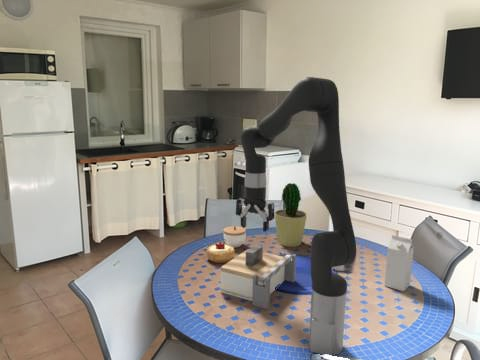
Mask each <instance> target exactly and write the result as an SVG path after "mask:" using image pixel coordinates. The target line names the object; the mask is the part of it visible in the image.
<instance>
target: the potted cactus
mask: <svg viewBox="0 0 480 360" xmlns="http://www.w3.org/2000/svg"><path fill="white" fill-rule="evenodd" d="M280 193H281V195H280V197H281V201H282V203H284V204H283V205H284V208H282V209H277V210H276V211H275V210H274V217H275V218H274V219H275V220H274V221H275V228H276V236H277V243H278V244H279V245H281V246H283V247H289V248H290V247H291V248H293V247H298V246H300V245H302V241H303V237H304V231H305V226H306V222H307V216H308V213H307V212H305V211H304V210H300V209H299V206H300V201H302V196H303V195H301V190H300V187H299V185H297V183H296V182H295V183H294V182H292V183H290V182H289V183H286V185H285V184H284V187H283V189H282V192H280Z"/></svg>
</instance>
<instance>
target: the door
mask: <svg viewBox="0 0 480 360" xmlns="http://www.w3.org/2000/svg"><path fill="white" fill-rule="evenodd" d="M263 249H264V247H263V246H262V245H259V244H255V245H254V246H252V247H251V248H249V249H248V248H247V249H246V250H244V251H243V252H241V253H240V254H238V255H236V256H234V257H233V259H232V260H231V261H229V262H227V263H224V264H223V265H222V266H221V267H220V272H221V271H223V272H227V273H231V274H235V275H238V276H242V277H246V278H250V279H253V275H254V274H258V284H259V285H264V284H265V280H266V278H267V277H270V279H271V278H272V277H273V276H274V275H275V274H276V273H277V272H278V271H280V270H281V269H282V268H283V267H284V266H285V265H286V264H287V263H288V262H289V261H292V255H293V254H285V257H282V256H281V255H278V254H277V255H276V254H272V253H268V252H263V251H264V250H263Z"/></svg>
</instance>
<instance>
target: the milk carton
mask: <svg viewBox="0 0 480 360" xmlns="http://www.w3.org/2000/svg"><path fill="white" fill-rule="evenodd" d="M389 241H390V242H389V244H388V246H387V252H386V253H387V255H386V265H385V274H384V275H385V276H384V287H388V288H391V289H395V290H398V291H400V292H405V291H406V289H407V288H409V286H410V285H411V279H412V278H411V276H412V269H413V268H412V267H413V260H414V259H413V258H414V257H413V256H414V250H415V247H414V245H413V239H412V238H408V237H403V236H398V235H393V234H391V239H390V240H389Z"/></svg>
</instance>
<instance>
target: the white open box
mask: <svg viewBox="0 0 480 360" xmlns="http://www.w3.org/2000/svg"><path fill="white" fill-rule="evenodd" d="M291 255H292V260H291V261H289V262H288V263H287V264H286V265H285V266H284V267H283V268H282V269H281V270H280V271H278V272H277V273H276V274H275V275H274V276H273V277H272V278H271V279H270V277H267V278H266V280H265V284H264V285H259V284H258V274H254V275H253V279H250V278H246V277H242V276H238V275H235V274H231V273H227V272H223V271H221V270H220V293H222V294H225V295H226V294H227V295H228V296H232V297H237V298H241V299H244V300H246V301H251V303H252V304H251V306H255V307H258V308H261V309H266V310H268V309H270V307H271V305H270V303H271V301H270V300H271V299H270V298H271V295H272V293H273V292H275V290H276V289H275V287H276V285H278V284H280V285H282V284H283V282H285V281H288V282H290V283H295V281H296V268H297V267H296V266H297V254H296V253H294V254H291ZM280 256H282V257H285V256H286V252H285V251H281V252H280Z"/></svg>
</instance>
